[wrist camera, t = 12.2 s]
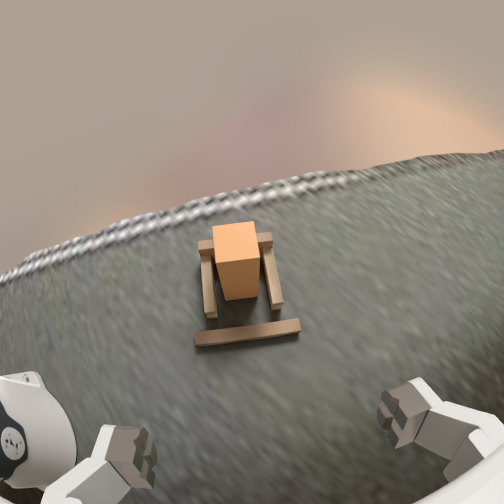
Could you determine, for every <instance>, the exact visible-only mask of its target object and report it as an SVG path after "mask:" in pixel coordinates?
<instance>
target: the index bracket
mask: <svg viewBox="0 0 504 504" xmlns="http://www.w3.org/2000/svg"><path fill="white" fill-rule="evenodd" d="M256 237H257V243H258V248H259V254H260V258H262V261H263V266H264V272H265V277H266V283H267V288H268V294H269V300H270V305H271V311H272V310H279V309H282V305H283V298H282V293H281V288H280V283H279V278H278V273H277V268H276V263H275V258H274V253H273V248H272V244H273V238H272V234H271V232H267V233H259V234H256ZM198 250H199V253H200V256H201V272H202V286H203V298H204V310H205V314H206V316H207V318H208V319H211V318H218V313H217V304H216V294H215V283H214V272H213V264H216V260H215V249H214V239H211V240H203V241H198Z"/></svg>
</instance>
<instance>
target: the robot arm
mask: <svg viewBox="0 0 504 504" xmlns="http://www.w3.org/2000/svg"><path fill="white" fill-rule="evenodd" d="M28 379H29V382H28ZM381 399H382V401H383V402H382V403H381V404H380V405H379V406H378V410H377V418H378V421H379V424H380V426H381V427H382V429H384V430H387V431H388V435H387V437H388V439H389V441H390V442H391V444H392V446H393V447H394V449H396V448H398V447H401V446H403V445H406V444H408V443H410V442H413V441H414V442H415V443H417V444H419V445H421V446H423V447H425V448H427V449H429V450H430V451H432V452H434V453H436V454H438V455H440V456H442V457H444V458H446V459H448V460H451V461H450V463H449V464H448V465H447V467H446V468H445V469H444V472H443V474H444V475H445V477H446V478H447V480H448V481H449V484H447V485H445V486H444V487H442V488H440V489H439V490H437V491H435V492H434V493H432V494H430V495H428V496H426V497H425V498H423V499H421V500H419V501H417V502H415V503H413V504H504V425H503V424H502V423H501V422H500V421H499V419H498V418H497V417H496V416H495V415H492V414H488V413H485V412H481V411H477V410H474V409H471V408H467V407H464V406H461V405H457V404H454V403H451V402H448V401H445V402H442V400H441V399H440V398H439V397H438V396H437V395H436V394H435V393H434V392H433V390H432V389H431V388H430V387H429V386H428V385H427V384H426V383H425V382H424V380H423V379H422V378H419V377H418V378H416V379H413V380H411V381H408V382H405V383H402V384H400V385H397V386H395V387H392V388H389V389H386V390H384V391H383V392H382V395H381ZM75 461H76V442H75V437H74V433H73V430H72V427H71V424H70V422H69V419H68V417H67V415H66V414H65V412H64V410H63V409H62V407H61V406H60V404H59V403H58V402H57V401H56V399H55V398H54V397H53V396H52V395H51V394H50V393H49V392H48V391H47V390H46V388H45V386H44V383H43V381H42V379H41V377H40V375H39V374H38V373H37V372H33V371H29V372H23V373H17V374H11V375H5V376H0V481H4V482H6V483H7V484H9V485H10V486H11V487H12V488H33V487H37V488H39V489H40V490H42V491H44V495H43V498H42V501H41V504H117V503H118V502H119V501H120V500H121V499H122V498H123V497H124V496H125V494H126V493H127V492H128V491H129V490H130V489H131V487H138V488H152V489H153V486H154V479H155V473H154V472H153V470H152V468H153V467H154V466H155V465H156V464H157V450H156V447H155V444H154V443H153V441H152V440H150V439H148V432H147V431H146V429H145V428H141V427H127V426H116V425H106V424H104V425H103V426H102V427H101V430H100V433H99V435H98V438H97V441H96V444H95V447H94V449H93V452H92V455H91V458H86V459H85V460H83V461H82V462H81V463H79V464H78V465H77V466H75V467H74V465H75ZM0 504H14V503H12V502H10V501H8V500H6V499H4V498H3V497H1V496H0Z"/></svg>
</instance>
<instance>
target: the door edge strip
mask: <svg viewBox="0 0 504 504" xmlns="http://www.w3.org/2000/svg"><path fill="white" fill-rule="evenodd" d="M300 331H301V327H300V322H299V318H295V319H289V320H283V321H276V322H270V323H263V324H256V325H249V326H241V327H233V328H225V329H216V330H207V331H198V332H194V337H195V345H196V346H208V345H217V344H226V343H234V342H242V341H250V340H257V339H264V338H270V337H277V336H283V335H289V334H295V333H300Z"/></svg>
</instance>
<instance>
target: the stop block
mask: <svg viewBox="0 0 504 504" xmlns="http://www.w3.org/2000/svg"><path fill="white" fill-rule="evenodd" d="M213 238H214V249H215V260H216V266H217V270H218V274H219V278H220V281H221V285H222V289H223V293H224V297H225V300H226V301H229V300H236V299H244V298H252V297H258V293H259V271H260V254H259V248H258V243H257V237H256V232H255V226H254V221H252V222H244V223H235V224H227V225H220V226H213Z"/></svg>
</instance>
